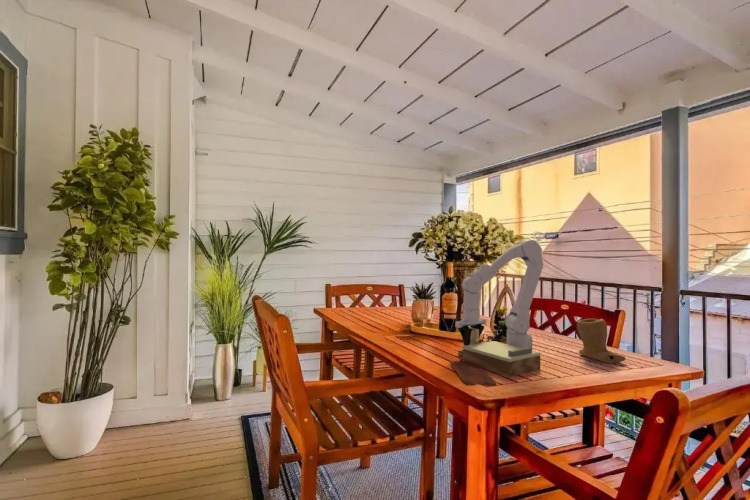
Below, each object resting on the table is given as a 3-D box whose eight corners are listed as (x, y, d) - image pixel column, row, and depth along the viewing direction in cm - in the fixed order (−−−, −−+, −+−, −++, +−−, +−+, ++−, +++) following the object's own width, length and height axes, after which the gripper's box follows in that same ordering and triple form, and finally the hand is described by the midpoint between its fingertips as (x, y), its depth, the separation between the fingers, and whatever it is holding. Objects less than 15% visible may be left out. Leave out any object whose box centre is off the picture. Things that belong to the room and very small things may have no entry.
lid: (493, 343, 154) (493, 336, 154) (540, 355, 137) (540, 347, 137) (463, 348, 145) (463, 341, 145) (509, 362, 128) (509, 353, 128)
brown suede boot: (569, 354, 158) (570, 315, 158) (597, 353, 159) (598, 315, 159) (596, 365, 143) (596, 322, 143) (626, 364, 144) (627, 322, 144)
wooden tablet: (498, 387, 120) (498, 382, 120) (464, 387, 119) (465, 381, 119) (475, 362, 146) (475, 358, 146) (447, 362, 146) (447, 357, 146)
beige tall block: (470, 351, 156) (470, 327, 156) (478, 353, 152) (478, 329, 152) (463, 352, 153) (463, 328, 153) (471, 354, 150) (471, 330, 150)
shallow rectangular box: (478, 351, 160) (478, 340, 160) (540, 369, 137) (540, 355, 137) (448, 357, 151) (449, 344, 151) (509, 376, 128) (509, 362, 128)
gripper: (476, 306, 160) (476, 340, 160) (449, 308, 152) (449, 345, 152) (490, 308, 154) (490, 344, 154) (463, 311, 146) (463, 349, 146)
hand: (470, 345), depth 153 cm, fingers closed on beige tall block, 4 cm apart
